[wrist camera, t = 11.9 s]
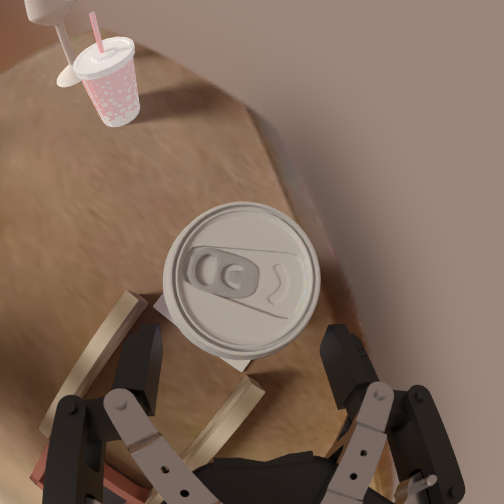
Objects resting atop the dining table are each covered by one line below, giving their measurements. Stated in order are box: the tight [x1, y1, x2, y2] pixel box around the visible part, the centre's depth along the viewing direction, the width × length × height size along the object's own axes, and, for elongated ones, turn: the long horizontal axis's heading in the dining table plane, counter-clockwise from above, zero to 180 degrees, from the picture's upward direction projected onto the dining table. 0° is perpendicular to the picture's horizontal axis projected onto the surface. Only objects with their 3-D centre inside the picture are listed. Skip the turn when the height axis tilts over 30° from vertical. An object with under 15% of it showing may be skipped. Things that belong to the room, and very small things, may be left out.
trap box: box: [30, 443, 149, 504], centre depth 15 cm, size 9×10×2 cm
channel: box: [38, 290, 265, 504], centre depth 18 cm, size 16×12×4 cm
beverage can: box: [163, 202, 321, 360], centre depth 15 cm, size 5×5×15 cm
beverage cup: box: [73, 12, 140, 127], centre depth 19 cm, size 6×6×14 cm
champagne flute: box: [24, 0, 81, 87], centre depth 15 cm, size 7×7×24 cm
